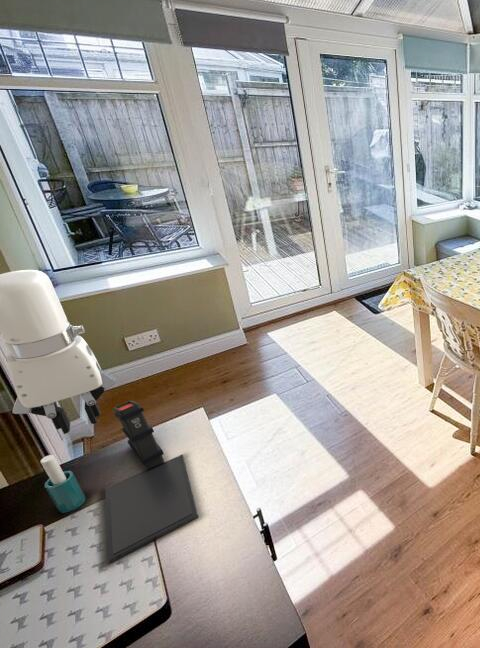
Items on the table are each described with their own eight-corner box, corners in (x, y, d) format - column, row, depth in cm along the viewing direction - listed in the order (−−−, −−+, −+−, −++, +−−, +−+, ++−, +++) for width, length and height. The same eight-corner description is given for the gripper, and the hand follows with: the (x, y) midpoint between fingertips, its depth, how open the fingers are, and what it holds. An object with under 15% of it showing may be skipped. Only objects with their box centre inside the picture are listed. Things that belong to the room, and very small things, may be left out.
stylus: (65, 508, 81) (39, 464, 76) (65, 501, 82) (40, 458, 77) (78, 502, 82) (53, 459, 77) (78, 496, 83) (54, 453, 78)
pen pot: (58, 516, 80) (43, 491, 77) (59, 503, 82) (45, 478, 80) (85, 504, 82) (72, 480, 79) (85, 492, 85) (72, 467, 82)
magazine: (148, 475, 87) (117, 412, 85) (139, 465, 95) (110, 408, 93) (170, 463, 90) (140, 402, 88) (158, 455, 98) (131, 399, 96)
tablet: (109, 563, 73) (107, 560, 72) (106, 491, 85) (104, 487, 85) (198, 517, 81) (197, 513, 80) (183, 457, 93) (182, 454, 93)
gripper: (106, 317, 78) (136, 395, 85) (-29, 348, 67) (18, 433, 75) (107, 334, 73) (139, 415, 80) (-38, 370, 62) (13, 459, 70)
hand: (80, 423), depth 77 cm, fingers open, 3 cm apart
